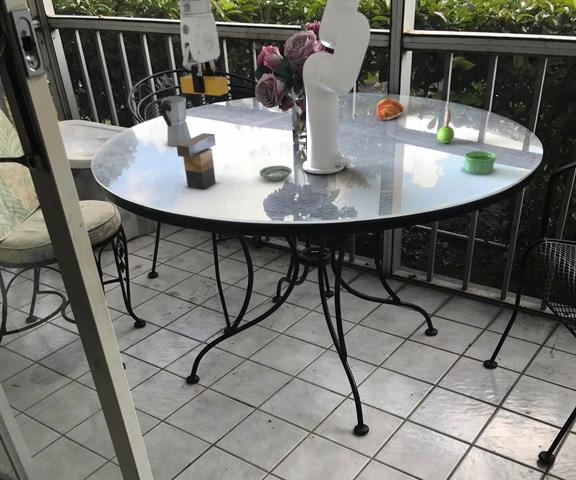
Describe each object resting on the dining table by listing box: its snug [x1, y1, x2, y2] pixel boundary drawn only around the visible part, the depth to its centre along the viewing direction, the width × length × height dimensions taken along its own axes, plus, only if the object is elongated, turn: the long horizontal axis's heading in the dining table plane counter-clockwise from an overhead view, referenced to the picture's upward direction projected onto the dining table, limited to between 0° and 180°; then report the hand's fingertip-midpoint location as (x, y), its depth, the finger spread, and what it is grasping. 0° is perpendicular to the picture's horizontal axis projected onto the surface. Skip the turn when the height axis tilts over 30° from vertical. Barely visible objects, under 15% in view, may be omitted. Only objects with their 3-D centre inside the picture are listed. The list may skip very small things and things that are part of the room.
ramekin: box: [463, 150, 497, 175], centre depth 179 cm, size 9×9×4 cm
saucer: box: [258, 165, 293, 182], centre depth 181 cm, size 10×10×2 cm
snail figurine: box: [436, 106, 455, 145], centre depth 199 cm, size 5×6×12 cm
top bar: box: [179, 74, 229, 97], centre depth 157 cm, size 12×4×4 cm, turn 60°
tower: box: [182, 147, 216, 190], centre depth 177 cm, size 6×6×10 cm
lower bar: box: [176, 132, 216, 158], centre depth 173 cm, size 13×4×3 cm, turn 152°
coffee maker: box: [160, 87, 192, 148], centre depth 211 cm, size 15×9×18 cm, turn 161°
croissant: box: [375, 97, 404, 121], centre depth 233 cm, size 21×10×8 cm, turn 159°
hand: (204, 89), depth 158 cm, fingers closed on top bar, 4 cm apart
